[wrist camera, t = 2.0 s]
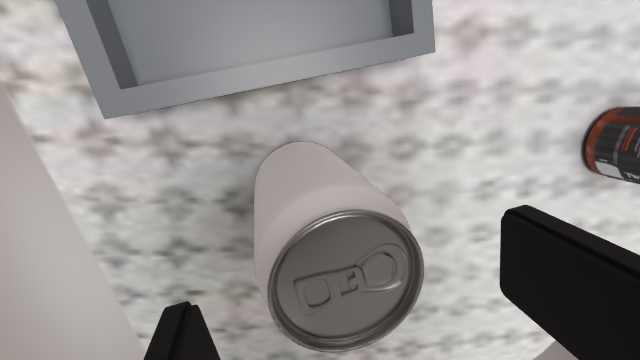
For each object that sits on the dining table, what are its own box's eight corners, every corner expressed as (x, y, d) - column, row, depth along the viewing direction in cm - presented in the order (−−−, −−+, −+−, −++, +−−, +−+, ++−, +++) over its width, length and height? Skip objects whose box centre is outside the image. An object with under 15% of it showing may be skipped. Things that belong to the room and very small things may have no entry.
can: (352, 211, 23) (445, 325, 12) (270, 238, 22) (285, 387, 11) (332, 128, 21) (422, 172, 10) (241, 155, 20) (224, 235, 9)
